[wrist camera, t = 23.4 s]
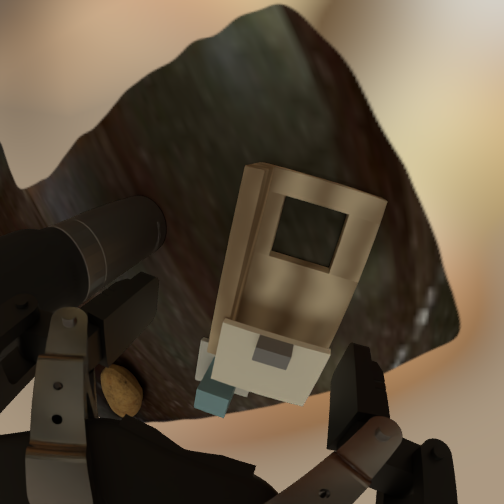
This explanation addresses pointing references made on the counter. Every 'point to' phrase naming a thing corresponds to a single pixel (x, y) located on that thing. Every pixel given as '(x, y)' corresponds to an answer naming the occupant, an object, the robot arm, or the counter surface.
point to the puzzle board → (291, 258)
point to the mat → (206, 360)
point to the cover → (267, 363)
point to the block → (213, 394)
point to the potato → (121, 390)
